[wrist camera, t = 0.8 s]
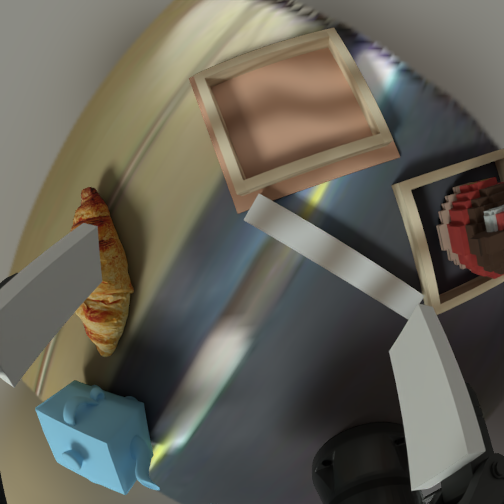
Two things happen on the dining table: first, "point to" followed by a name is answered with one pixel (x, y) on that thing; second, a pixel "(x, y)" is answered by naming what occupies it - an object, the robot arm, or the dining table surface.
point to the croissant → (104, 277)
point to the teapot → (99, 435)
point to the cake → (475, 227)
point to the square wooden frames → (317, 156)
